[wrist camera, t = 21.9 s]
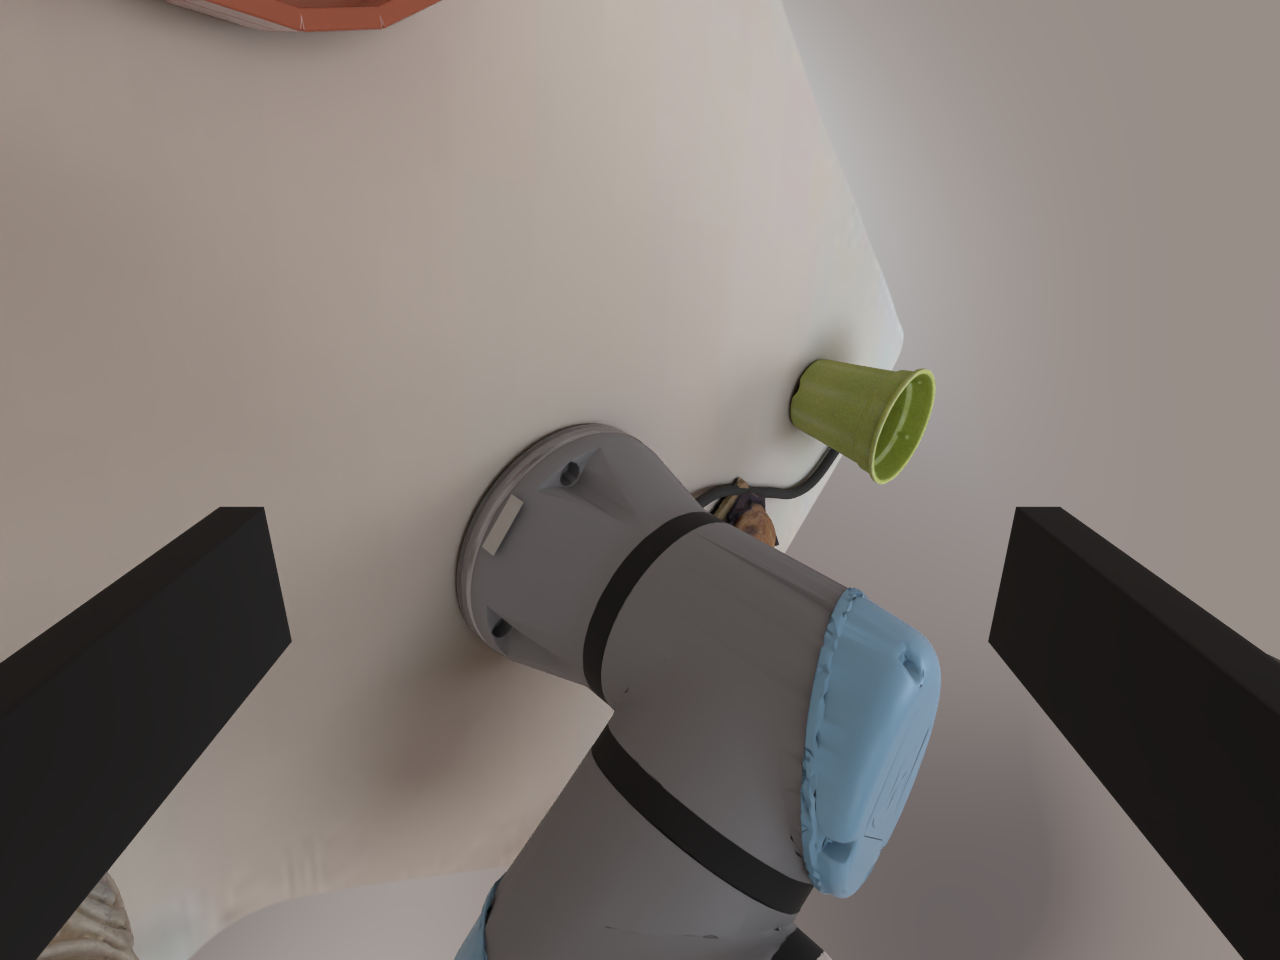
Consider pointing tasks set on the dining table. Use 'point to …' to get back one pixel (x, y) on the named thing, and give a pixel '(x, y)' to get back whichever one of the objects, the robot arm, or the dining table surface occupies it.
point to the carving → (95, 929)
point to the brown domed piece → (748, 515)
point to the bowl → (309, 13)
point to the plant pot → (865, 413)
